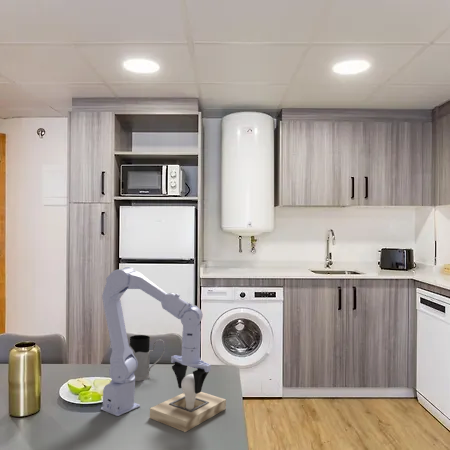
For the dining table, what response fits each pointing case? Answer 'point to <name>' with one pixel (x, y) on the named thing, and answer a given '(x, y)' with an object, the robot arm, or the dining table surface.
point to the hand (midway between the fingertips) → (189, 389)
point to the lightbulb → (189, 390)
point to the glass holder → (142, 355)
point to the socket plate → (187, 411)
